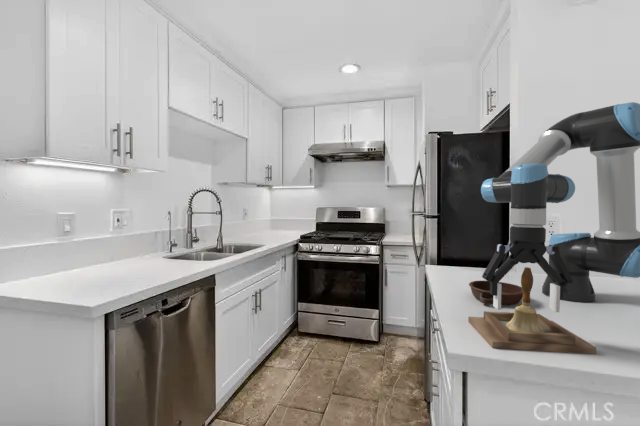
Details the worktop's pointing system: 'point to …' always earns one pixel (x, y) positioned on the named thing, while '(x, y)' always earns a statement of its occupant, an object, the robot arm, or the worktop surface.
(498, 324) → the walnut stand
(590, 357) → the worktop surface
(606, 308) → the worktop surface
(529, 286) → the hand bell
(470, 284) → the dish
